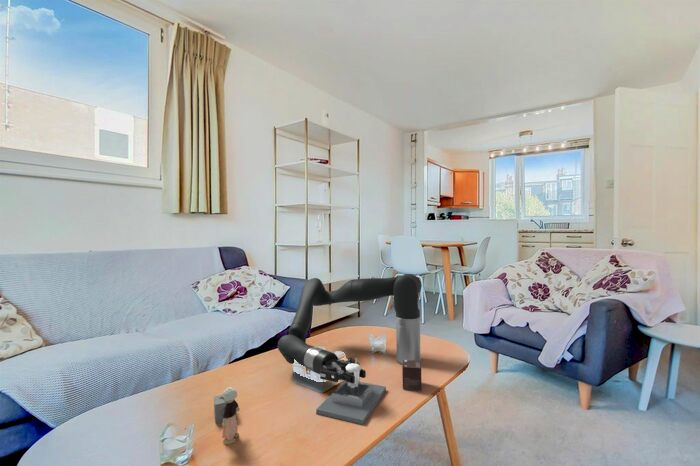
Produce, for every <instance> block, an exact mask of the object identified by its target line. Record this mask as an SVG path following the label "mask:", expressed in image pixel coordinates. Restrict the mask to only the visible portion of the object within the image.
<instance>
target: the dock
mask: <svg viewBox="0 0 700 466" xmlns="http://www.w3.org/2000/svg"><path fill="white" fill-rule="evenodd" d="M386 390H387V386H385V385H379V384H373V383H367V382H362V381H359V391H358V396H352V395H347V382H346V381H341V383H340V384H339V385H338V387H336V388H335V390H333V391H332V392H331V393H330V395H329V396H328V397H327V398H326V399H325V400H323V402H322V403H320V405H319V406H318V407H317V408H316V411H315V413H316V415H320V416H325V417H328V418H334V419H337V420H342V421H346V422H349V423H350V422H351V423H353V424H357V425H358V424H359V425H363V426H364V424H365V423H366V421H367V420H368V418H369V416H370V415H371V413H372V412H373V411H374V410H375V408H376V406H377V404H378V403H379V401H380V400H381V399H382V397H383V396H384V395H385V392H386Z"/></svg>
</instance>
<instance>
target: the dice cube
mask: <svg viewBox="0 0 700 466" xmlns="http://www.w3.org/2000/svg"><path fill="white" fill-rule="evenodd" d="M226 404H227V403H226V402H225V401H224V398H223V394H219V395H214V396H213V413H214V414H213V415H214V422H215V424H217V423H221V422H222V423H223V415H224V408H225V406H226Z"/></svg>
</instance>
